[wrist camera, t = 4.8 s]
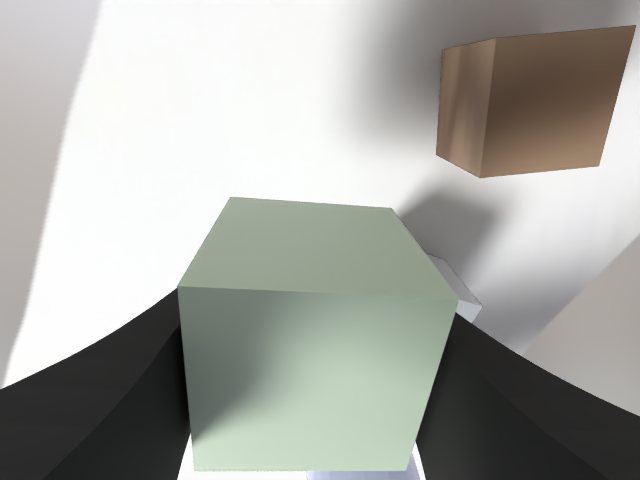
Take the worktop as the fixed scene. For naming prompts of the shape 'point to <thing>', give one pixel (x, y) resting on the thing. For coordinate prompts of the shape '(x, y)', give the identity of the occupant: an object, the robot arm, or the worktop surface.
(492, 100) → the walnut cube
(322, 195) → the worktop surface
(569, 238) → the worktop surface
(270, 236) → the sage cube
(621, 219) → the worktop surface
